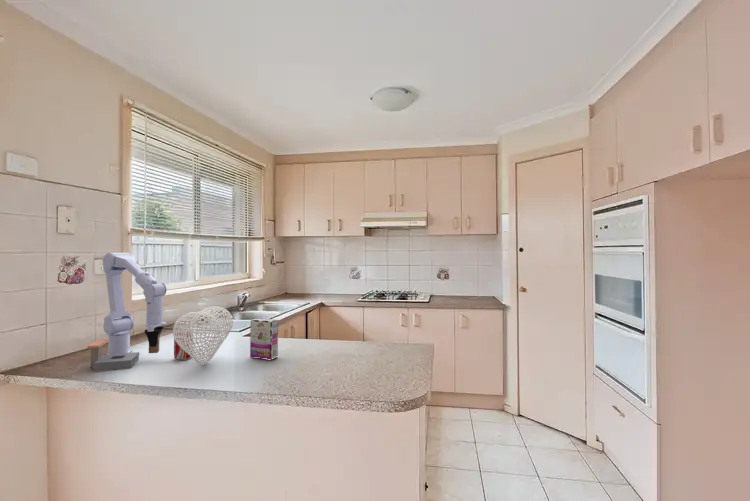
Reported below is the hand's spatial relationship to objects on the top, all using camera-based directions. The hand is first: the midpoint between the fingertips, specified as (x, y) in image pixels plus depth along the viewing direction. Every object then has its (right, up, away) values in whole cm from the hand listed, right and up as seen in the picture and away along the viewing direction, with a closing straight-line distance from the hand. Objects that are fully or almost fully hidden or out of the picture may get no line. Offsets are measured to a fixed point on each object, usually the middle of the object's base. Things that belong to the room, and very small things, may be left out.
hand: (153, 345), depth 153 cm
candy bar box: (+44, -7, +6) cm, 45 cm away
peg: (0, -3, 0) cm, 3 cm away
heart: (+23, -7, -5) cm, 25 cm away
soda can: (+11, -6, +3) cm, 13 cm away
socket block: (-11, -6, -7) cm, 15 cm away
